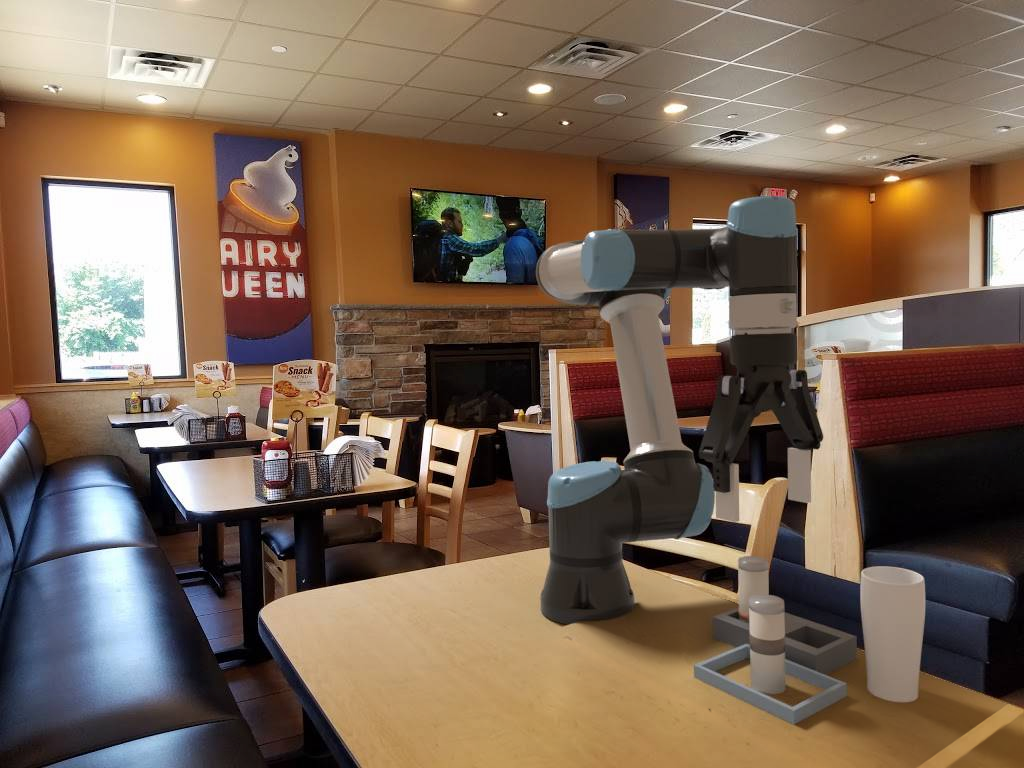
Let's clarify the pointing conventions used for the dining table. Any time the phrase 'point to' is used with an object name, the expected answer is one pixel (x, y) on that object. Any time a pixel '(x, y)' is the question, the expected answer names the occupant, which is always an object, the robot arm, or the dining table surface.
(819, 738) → the dining table surface
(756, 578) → the fuse
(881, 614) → the drinking glass
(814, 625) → the fuse block
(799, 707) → the parts tray
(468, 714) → the dining table surface
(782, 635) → the cylinder
